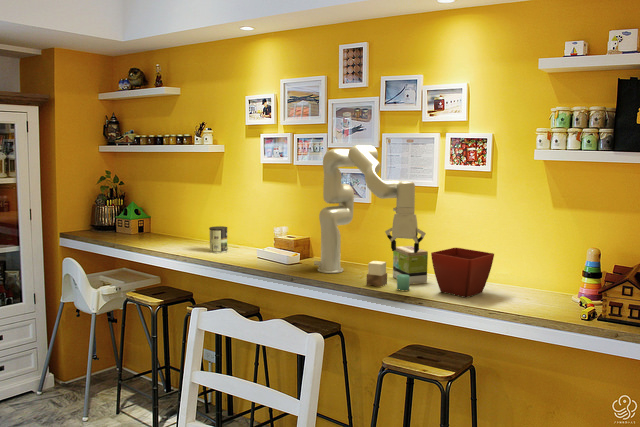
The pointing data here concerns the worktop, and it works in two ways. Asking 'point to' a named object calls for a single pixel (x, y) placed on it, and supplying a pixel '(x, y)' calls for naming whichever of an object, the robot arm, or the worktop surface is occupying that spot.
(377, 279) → the walnut base block
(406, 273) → the tea box
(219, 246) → the coffee can
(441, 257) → the plant pot
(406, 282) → the teal block
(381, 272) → the cream block
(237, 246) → the worktop surface
